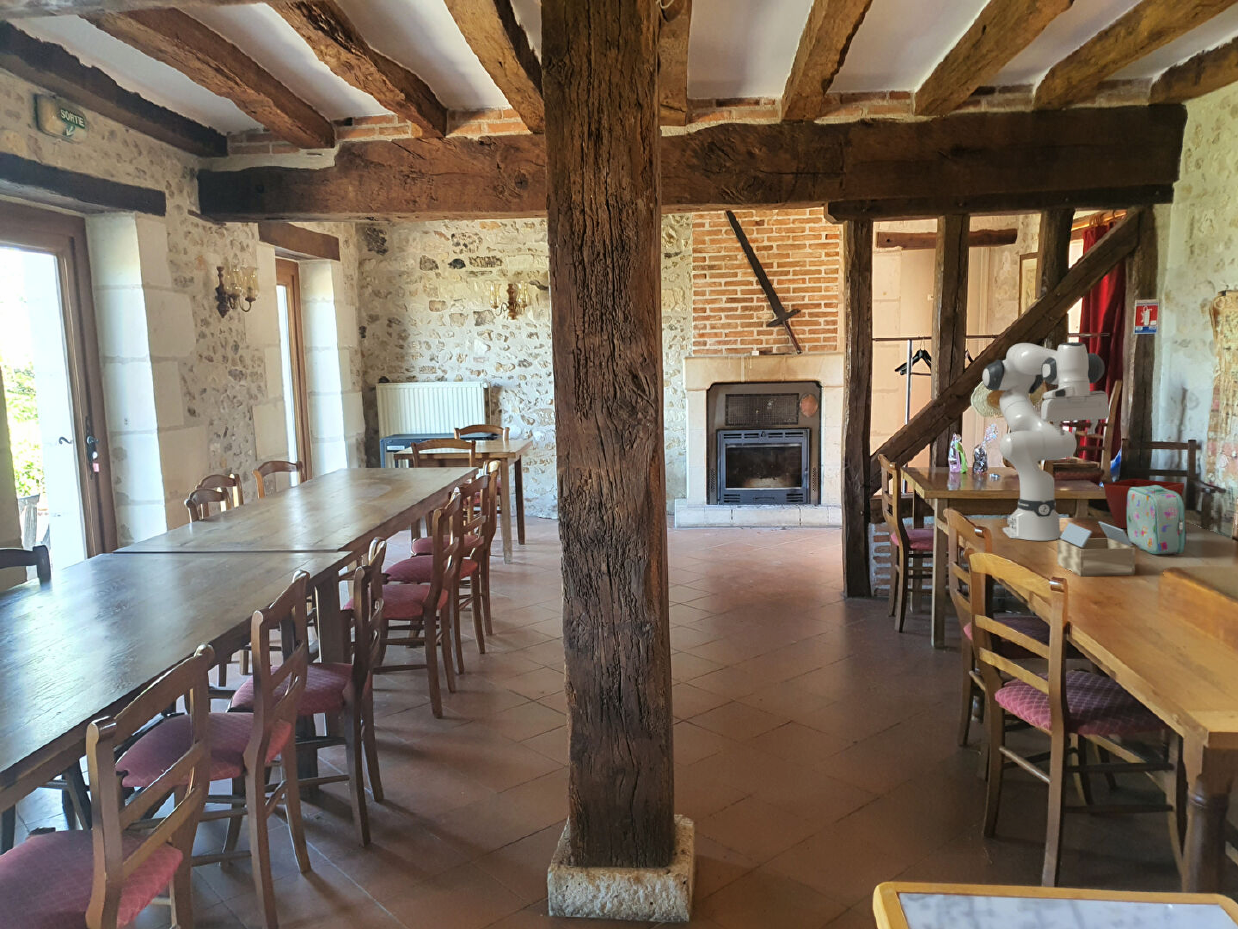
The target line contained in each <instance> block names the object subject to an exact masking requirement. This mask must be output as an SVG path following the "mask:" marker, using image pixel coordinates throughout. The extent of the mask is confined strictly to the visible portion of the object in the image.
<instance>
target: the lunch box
mask: <svg viewBox="0 0 1238 929" xmlns="http://www.w3.org/2000/svg"><path fill="white" fill-rule="evenodd" d="M1185 526H1186V525H1185V505H1184V501H1183V499H1182V497H1181V496H1180V495H1179V494H1178V493H1176V492H1174V491H1171V490H1167V489H1164V488H1163V487H1161V486H1158V485H1154V486H1146V487H1131V488H1130V489H1129V491H1128V496H1127V529H1126V531H1127V537H1128V539H1129V540H1130V542H1131V544H1134V545H1136V547H1138V548H1139V549H1140V550H1144V551H1146V552H1148V553H1149V554H1152V555H1169V554H1172V555H1173V554H1181V553H1184V549H1185V545H1186V543H1187V531H1186V530H1185V529H1186V527H1185Z"/></svg>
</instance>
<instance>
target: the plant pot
mask: <svg viewBox="0 0 1238 929" xmlns="http://www.w3.org/2000/svg"><path fill="white" fill-rule="evenodd" d="M1154 485H1158V486H1161V487H1163V488H1164V489H1167V490H1171V491H1174V492H1176V493H1178V494H1179V495H1180V496H1181V498H1182V497H1183V492H1184V488H1185V483H1184V482H1175V481H1164V480H1162V481H1161V480H1152V479H1141V478H1139V479H1138V478H1131V479H1124V480H1118V481H1114V482H1108V483H1104V484H1103V488H1104V494H1105V499H1106V502H1107V505H1108V508H1109V511H1110V514H1111V517H1112V520H1113V523H1114V525H1115V527H1116V528H1119V529H1121V528H1127V496H1128V491H1129V489H1130V488H1131V487H1146V486H1154Z"/></svg>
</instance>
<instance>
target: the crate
mask: <svg viewBox="0 0 1238 929" xmlns="http://www.w3.org/2000/svg"><path fill="white" fill-rule="evenodd" d="M1056 542H1057V544H1056V545H1057V546H1056V552H1057V553H1056V557H1057V558H1056V565H1057V564H1058V565H1057V566H1059V565H1060V566H1059V567H1061V566H1062V568H1063V569H1065V570H1068V571H1069V570H1071V571H1072V572H1071V571H1070V572H1071V573H1073V572H1074V573H1073V574H1075V573H1076V574H1075V575H1077V576H1079V577H1103V576H1104V577H1105V576H1106V577H1107V576H1108V577H1109V576H1133V575H1134V576H1135V572H1136V568H1135V567H1136V548H1135V547H1133V546H1129V545H1126V544H1124V543H1121V542H1119V541H1116V540H1114V539H1111V538H1108V537H1100V538H1099V537H1097V538H1096V537H1095V538H1091V537H1089V539H1088V540H1087V542H1086V543H1085V545H1084V547H1083V548H1082V547H1079V546H1077V545H1075V544H1073V543H1070V542H1068V541H1066V540H1063V539H1061V538H1059V539H1056Z"/></svg>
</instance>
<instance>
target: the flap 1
mask: <svg viewBox="0 0 1238 929" xmlns="http://www.w3.org/2000/svg"><path fill="white" fill-rule="evenodd" d="M1061 533H1062V535H1061V537H1059V539H1063V540H1066V541H1068V542H1070V543H1073V544H1075V545H1077V546H1079V547H1082V548H1083V547H1084V545H1085V543H1086V542H1087V540H1088V539H1090V538H1091V535H1092V533H1093V531H1092V530H1089V529H1086V528H1085V527H1081V526H1079V525H1076V524H1074V523H1072V522H1068V524H1067V525H1066V527H1065V529H1064V530H1063V532H1061Z"/></svg>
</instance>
